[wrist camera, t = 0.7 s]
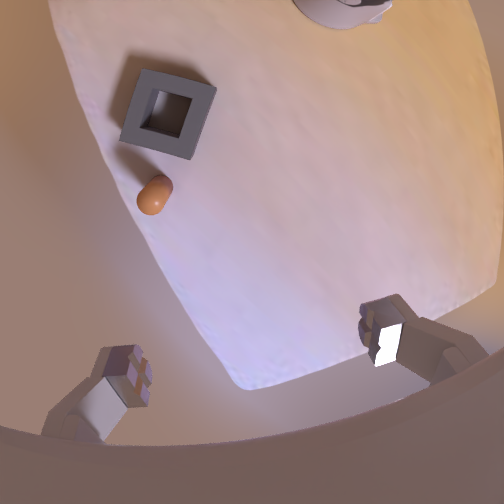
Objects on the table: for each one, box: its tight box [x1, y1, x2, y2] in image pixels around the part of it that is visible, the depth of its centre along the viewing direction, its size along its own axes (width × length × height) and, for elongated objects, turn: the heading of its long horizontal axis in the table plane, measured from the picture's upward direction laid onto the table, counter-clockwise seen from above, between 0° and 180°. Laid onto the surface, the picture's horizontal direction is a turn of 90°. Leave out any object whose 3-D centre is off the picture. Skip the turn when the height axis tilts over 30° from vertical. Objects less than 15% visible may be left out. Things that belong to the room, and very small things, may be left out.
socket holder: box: [119, 68, 217, 160], centre depth 38 cm, size 11×11×5 cm
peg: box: [137, 175, 173, 215], centre depth 42 cm, size 4×4×8 cm
